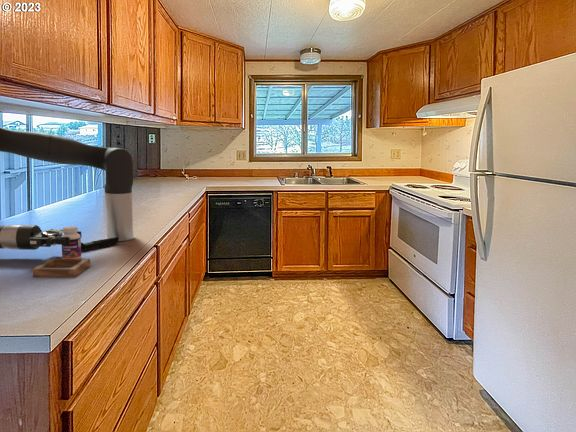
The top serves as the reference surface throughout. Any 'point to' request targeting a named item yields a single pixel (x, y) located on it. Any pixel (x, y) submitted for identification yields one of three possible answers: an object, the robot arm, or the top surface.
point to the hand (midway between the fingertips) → (75, 237)
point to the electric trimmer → (99, 244)
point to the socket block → (48, 269)
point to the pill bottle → (71, 243)
